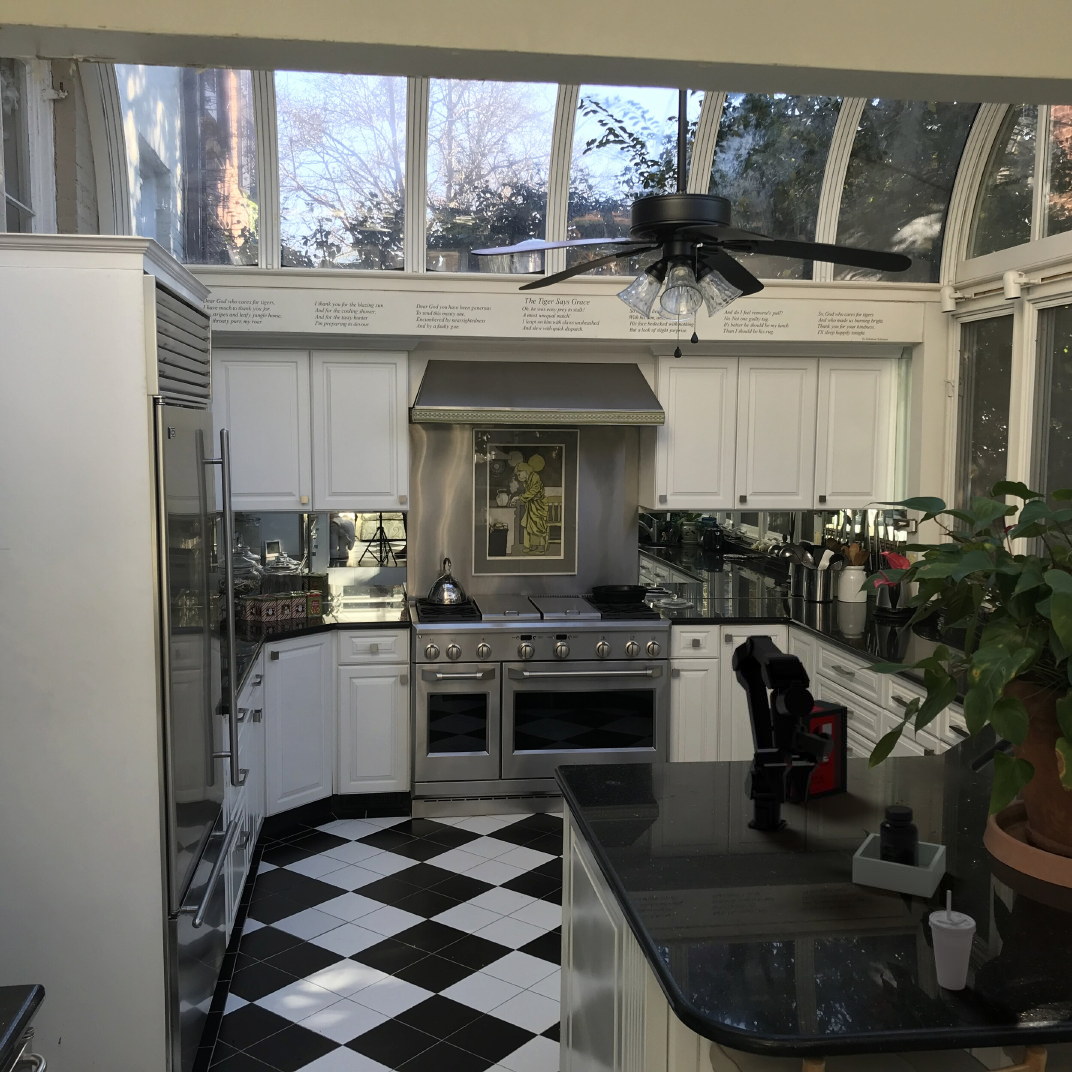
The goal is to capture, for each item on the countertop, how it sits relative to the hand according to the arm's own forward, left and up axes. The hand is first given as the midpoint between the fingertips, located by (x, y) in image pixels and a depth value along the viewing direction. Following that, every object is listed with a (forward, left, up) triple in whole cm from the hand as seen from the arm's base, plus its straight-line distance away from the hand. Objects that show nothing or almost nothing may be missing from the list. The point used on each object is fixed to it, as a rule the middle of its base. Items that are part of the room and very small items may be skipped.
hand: (792, 802), depth 195 cm
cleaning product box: (-41, -10, -12) cm, 44 cm away
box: (-2, +19, -11) cm, 23 cm away
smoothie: (+34, +34, -12) cm, 50 cm away
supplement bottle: (-2, +19, -11) cm, 22 cm away
